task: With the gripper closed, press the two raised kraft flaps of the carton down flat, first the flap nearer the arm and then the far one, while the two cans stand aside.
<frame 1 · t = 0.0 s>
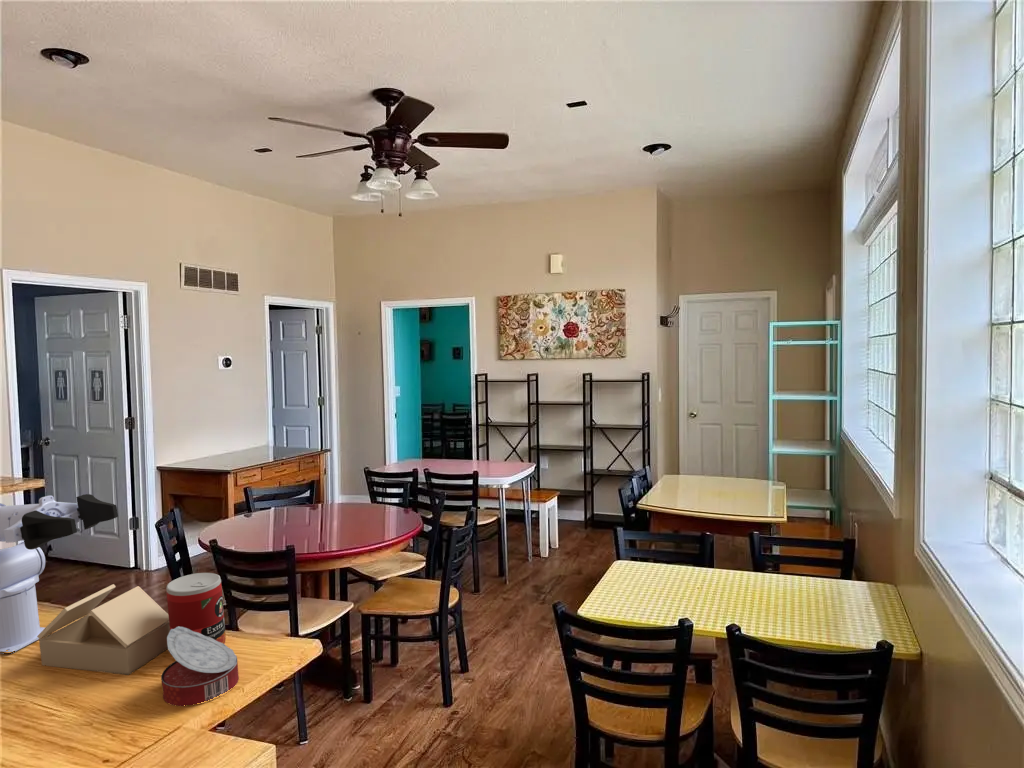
hand: (95, 518, 103), 22 cm above the table, tool horizontal, fingers open, 7 cm apart
canned food 2: (202, 688, 95), on the table
carton: (109, 654, 105), on the table
canned food: (199, 649, 106), on the table
near flap: (77, 610, 105), point 7 cm above the table, hinge at 40.0°
far flap: (132, 615, 103), point 7 cm above the table, hinge at 40.0°
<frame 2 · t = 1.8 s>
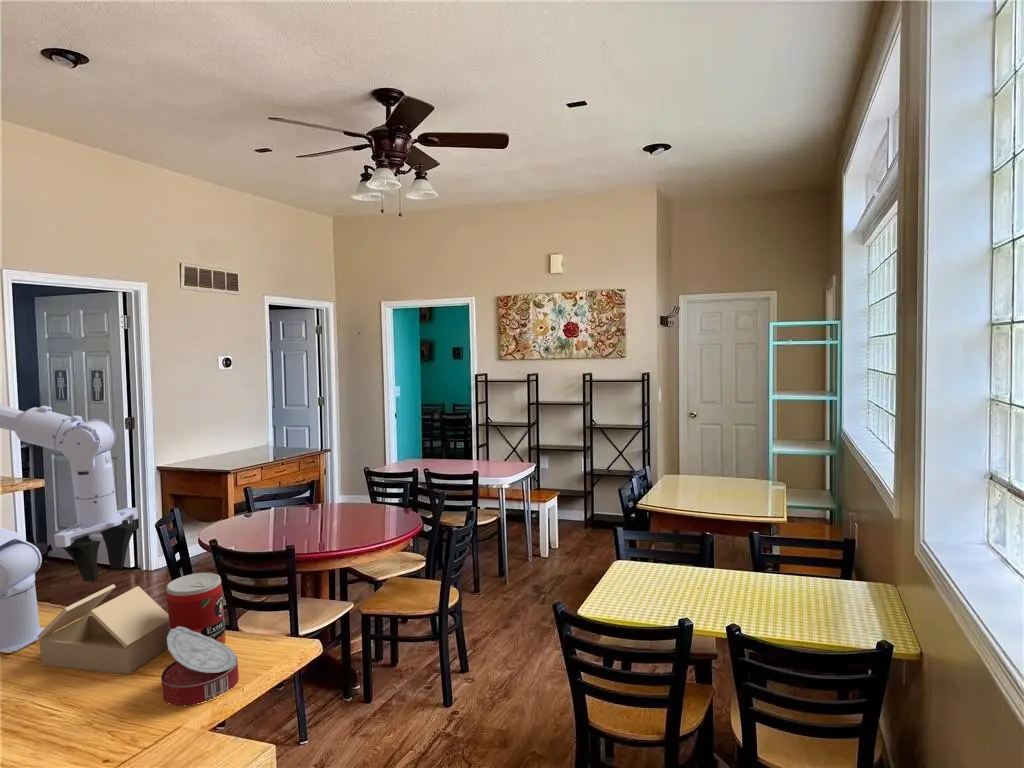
hand: (104, 574, 111), 10 cm above the table, tool pointing down, fingers open, 5 cm apart
nothing on the table moved.
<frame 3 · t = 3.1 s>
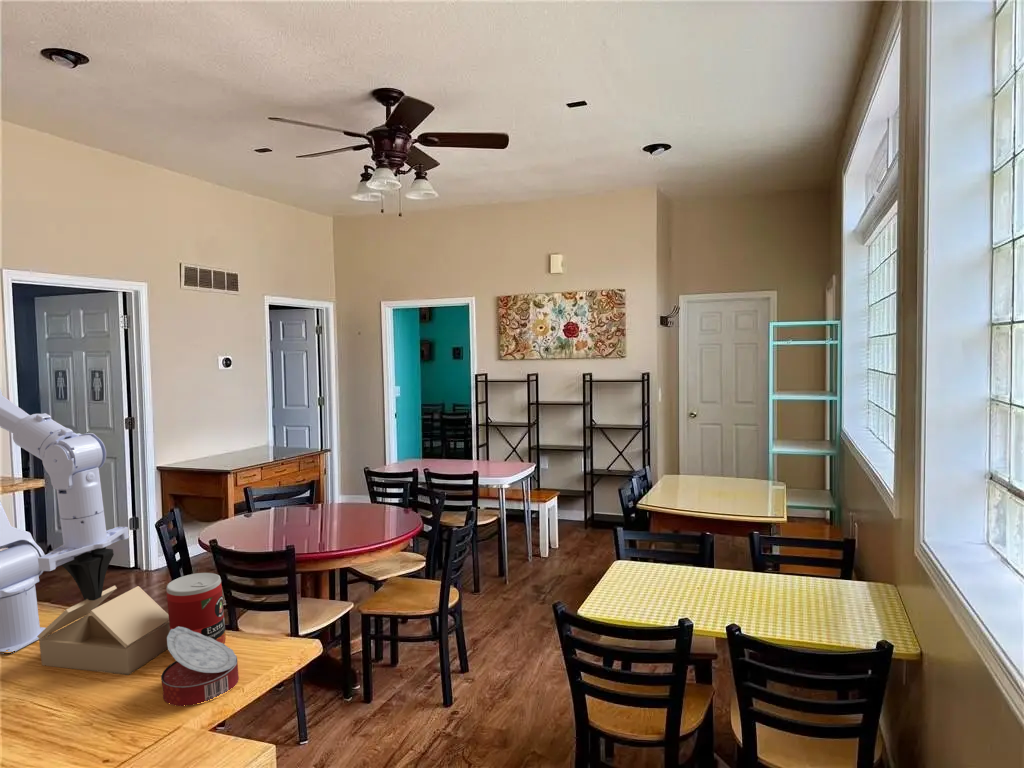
hand: (92, 598, 104), 9 cm above the table, tool pointing down, fingers closed, pressing on near flap
near flap: (78, 611, 105), point 7 cm above the table, hinge at 37.8°, touching gripper
everything else where it was.
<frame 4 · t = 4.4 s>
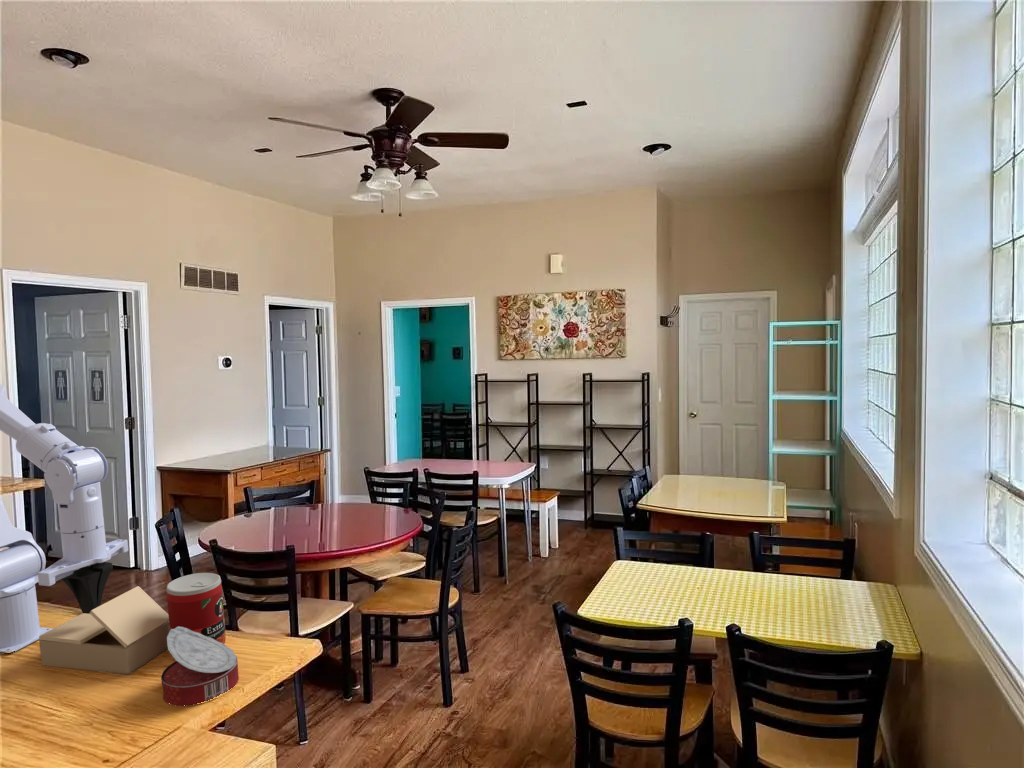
hand: (91, 611, 104), 7 cm above the table, tool pointing down, fingers closed
near flap: (85, 626, 105), point 4 cm above the table, hinge at -0.5°
everything else where it was.
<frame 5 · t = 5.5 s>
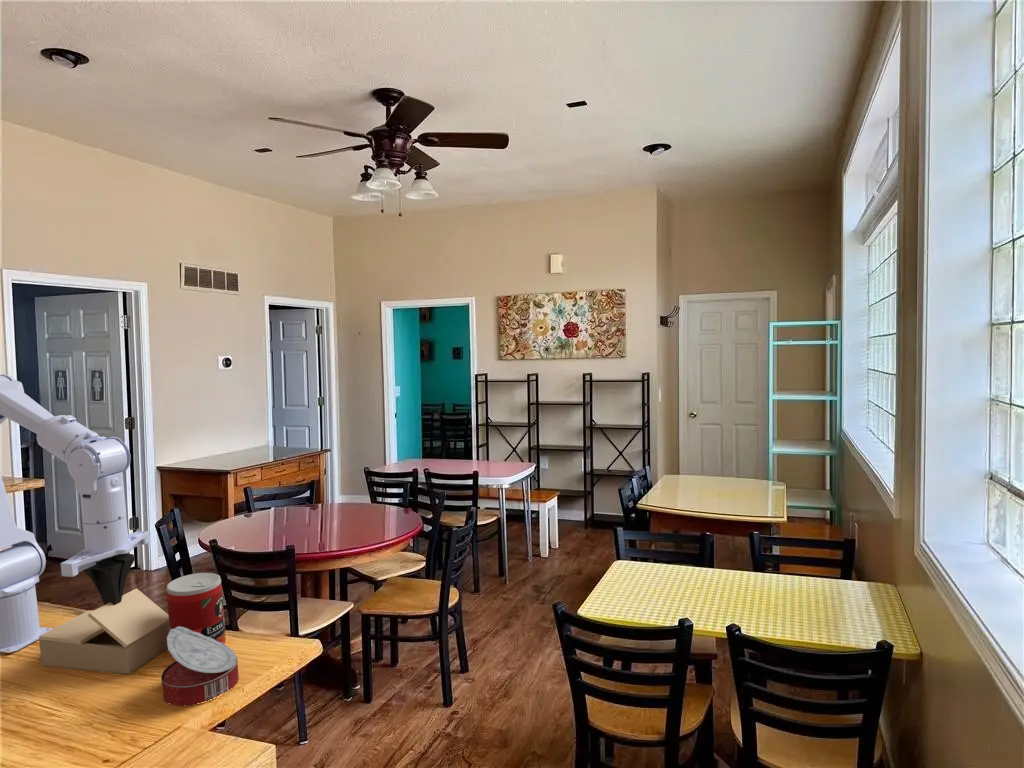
hand: (112, 603, 103), 9 cm above the table, tool pointing down, fingers closed, pressing on far flap
far flap: (131, 616, 103), point 7 cm above the table, hinge at 35.7°, touching gripper
everything else where it was.
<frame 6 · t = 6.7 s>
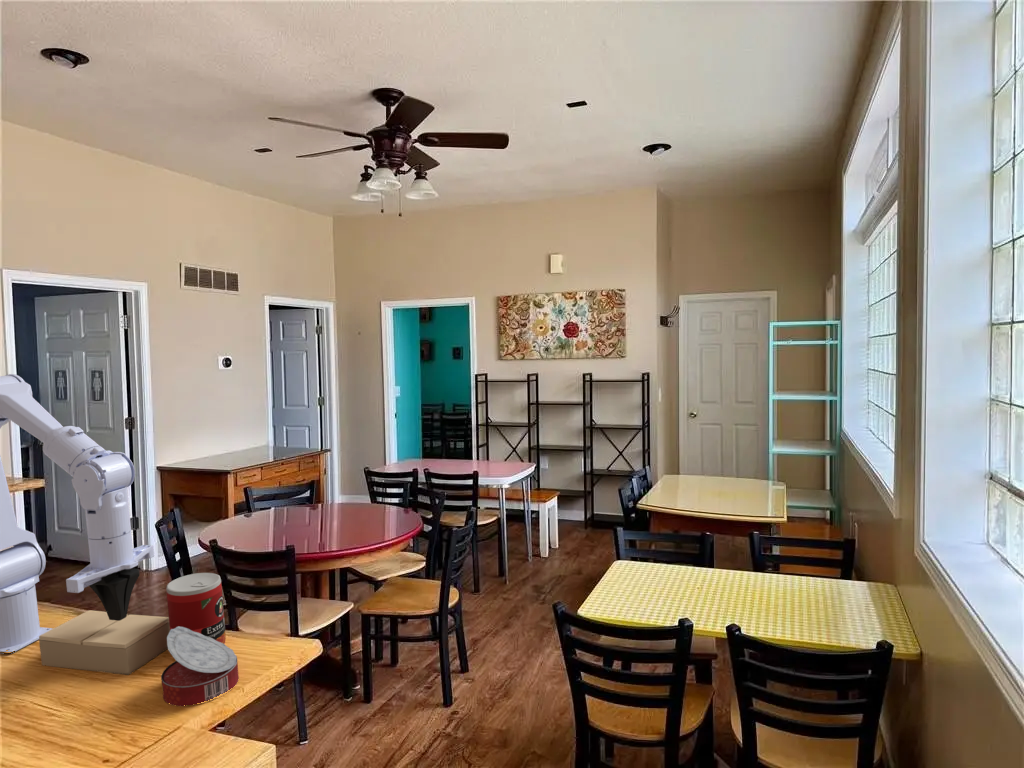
hand: (118, 618, 103), 6 cm above the table, tool pointing down, fingers closed
far flap: (127, 630, 103), point 4 cm above the table, hinge at -0.9°, touching carton
everything else where it was.
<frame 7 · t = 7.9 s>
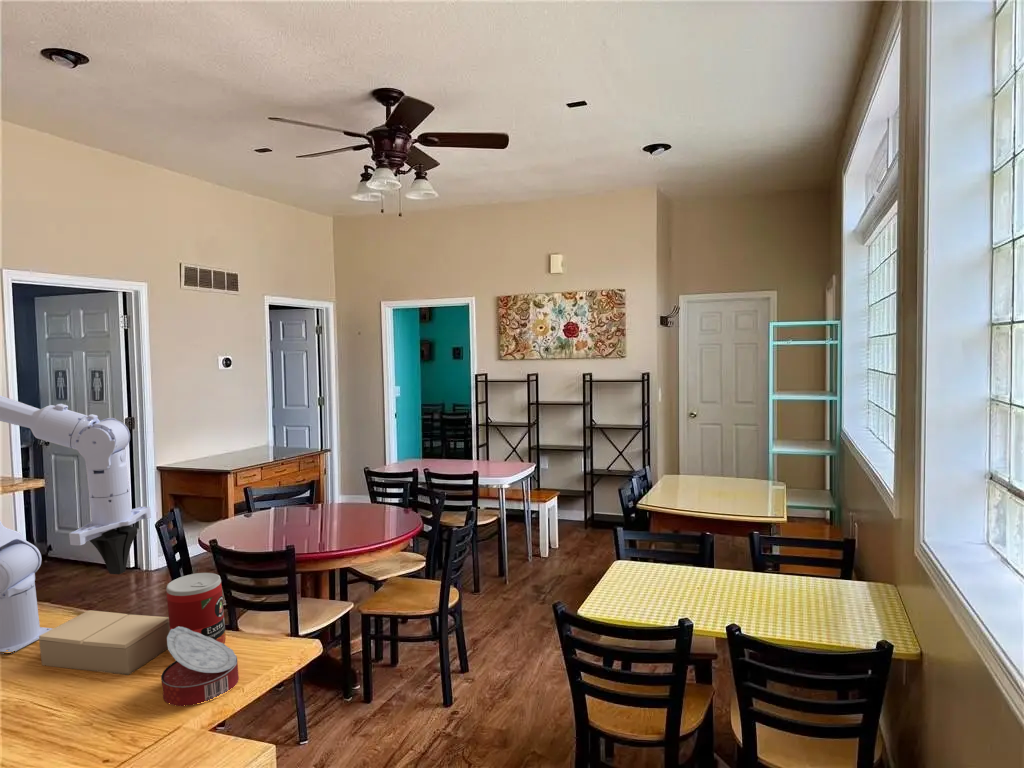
hand: (117, 572, 111), 10 cm above the table, tool pointing down, fingers closed
nothing on the table moved.
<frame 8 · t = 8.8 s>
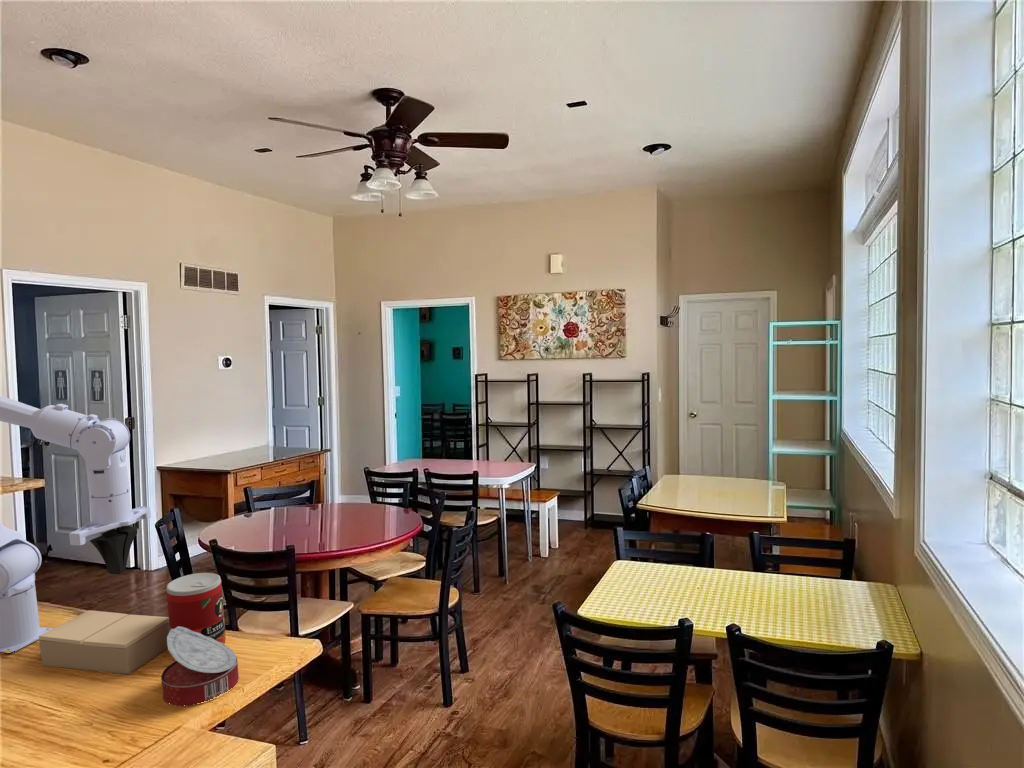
hand: (117, 572, 111), 10 cm above the table, tool pointing down, fingers closed
nothing on the table moved.
at the end: near flap at -1° (first picture: +40°); far flap at -1° (first picture: +40°) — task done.
